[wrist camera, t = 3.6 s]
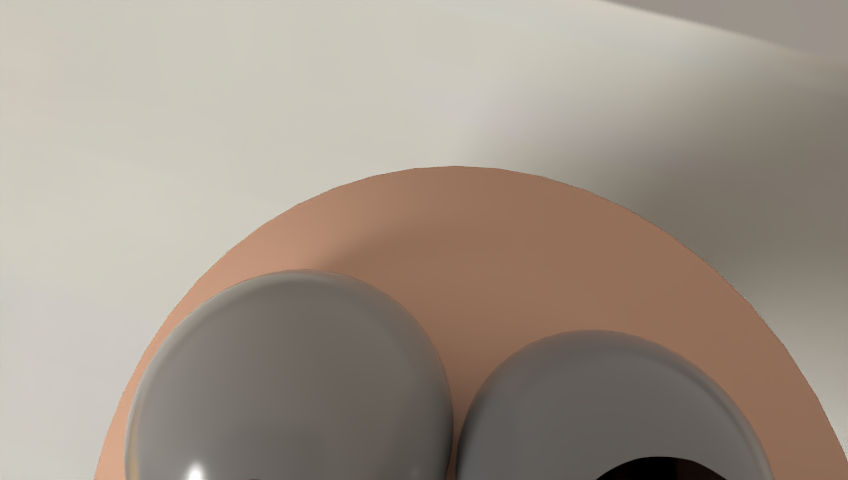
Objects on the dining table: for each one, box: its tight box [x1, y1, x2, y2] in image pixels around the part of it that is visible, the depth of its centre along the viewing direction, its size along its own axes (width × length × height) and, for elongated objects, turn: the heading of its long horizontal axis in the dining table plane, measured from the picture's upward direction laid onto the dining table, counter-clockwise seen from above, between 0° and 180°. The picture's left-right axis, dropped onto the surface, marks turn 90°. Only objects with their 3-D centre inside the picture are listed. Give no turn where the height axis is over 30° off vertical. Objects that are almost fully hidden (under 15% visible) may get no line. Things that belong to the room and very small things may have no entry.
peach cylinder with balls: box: [94, 166, 848, 480], centre depth 8 cm, size 5×5×13 cm
